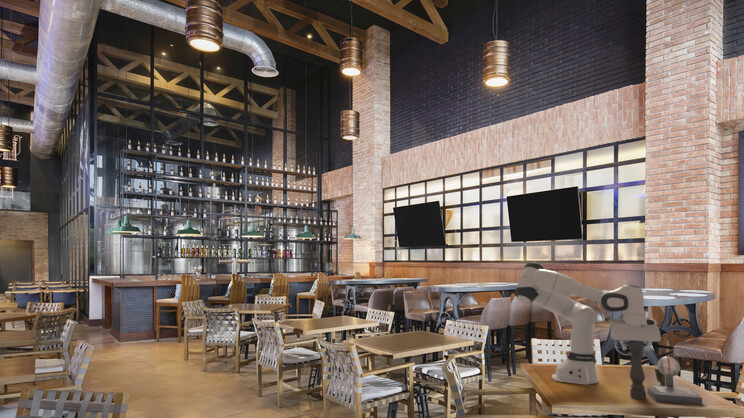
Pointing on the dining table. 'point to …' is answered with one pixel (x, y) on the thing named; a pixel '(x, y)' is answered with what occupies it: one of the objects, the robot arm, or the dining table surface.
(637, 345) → the candle holder
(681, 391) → the scale pan
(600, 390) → the dining table surface
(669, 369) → the scale base
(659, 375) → the cup
